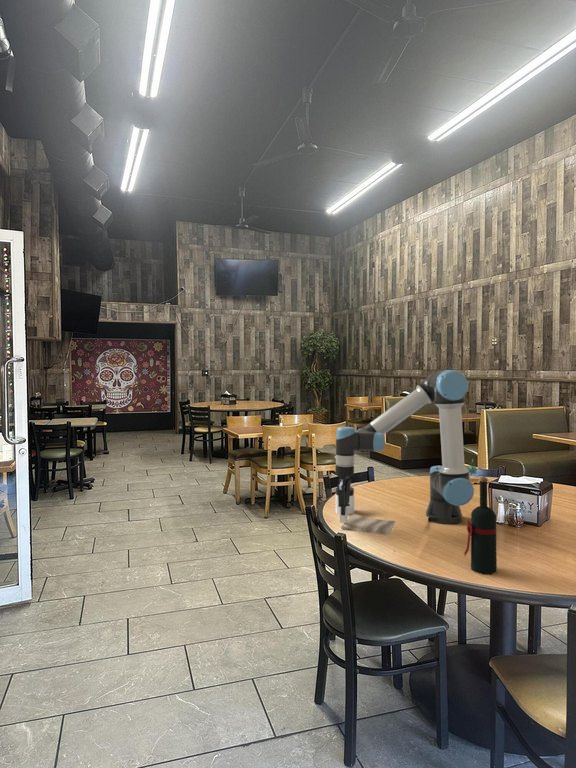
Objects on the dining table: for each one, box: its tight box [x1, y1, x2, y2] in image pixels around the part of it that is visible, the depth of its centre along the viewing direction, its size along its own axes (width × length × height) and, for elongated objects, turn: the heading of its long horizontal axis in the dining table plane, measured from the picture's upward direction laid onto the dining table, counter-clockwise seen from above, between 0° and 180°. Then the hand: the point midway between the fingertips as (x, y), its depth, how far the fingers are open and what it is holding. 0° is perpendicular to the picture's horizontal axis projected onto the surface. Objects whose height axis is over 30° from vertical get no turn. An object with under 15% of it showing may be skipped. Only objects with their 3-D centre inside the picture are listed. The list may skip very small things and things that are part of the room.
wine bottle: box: [463, 476, 498, 575], centre depth 157 cm, size 8×10×30 cm
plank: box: [340, 513, 371, 533], centre depth 202 cm, size 8×18×1 cm, turn 158°
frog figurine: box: [467, 458, 490, 485], centre depth 278 cm, size 10×18×15 cm, turn 79°
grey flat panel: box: [361, 518, 397, 536], centre depth 200 cm, size 23×20×1 cm
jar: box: [334, 486, 355, 516], centre depth 219 cm, size 9×8×12 cm
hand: (343, 522), depth 198 cm, fingers closed
